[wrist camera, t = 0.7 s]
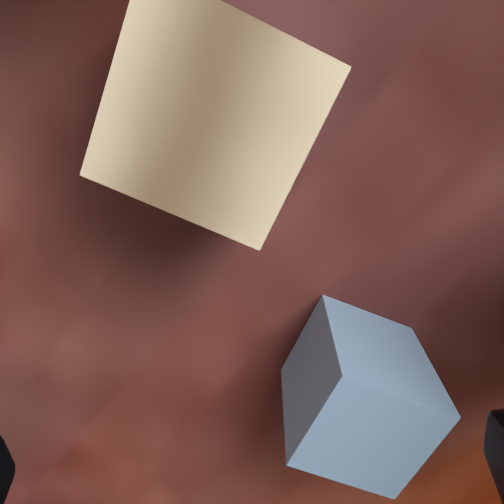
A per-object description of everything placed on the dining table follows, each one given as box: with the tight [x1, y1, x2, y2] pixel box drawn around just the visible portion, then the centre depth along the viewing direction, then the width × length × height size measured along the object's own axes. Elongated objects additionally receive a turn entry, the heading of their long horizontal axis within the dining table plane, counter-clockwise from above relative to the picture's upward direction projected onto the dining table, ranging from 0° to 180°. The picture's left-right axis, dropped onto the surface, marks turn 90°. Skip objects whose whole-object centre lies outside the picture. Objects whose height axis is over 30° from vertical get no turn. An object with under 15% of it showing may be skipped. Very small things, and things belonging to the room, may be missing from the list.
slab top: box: [80, 0, 351, 251], centre depth 14 cm, size 6×6×3 cm
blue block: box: [281, 295, 461, 500], centre depth 20 cm, size 5×5×6 cm
